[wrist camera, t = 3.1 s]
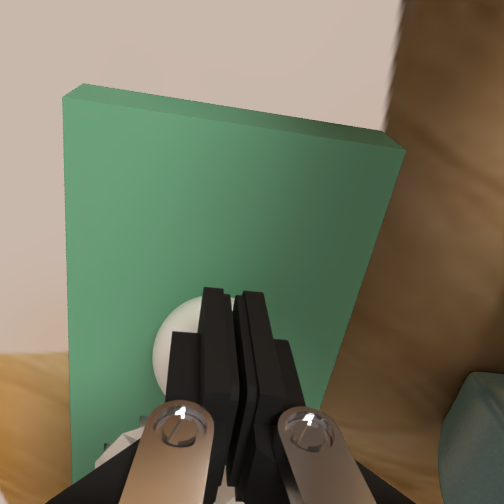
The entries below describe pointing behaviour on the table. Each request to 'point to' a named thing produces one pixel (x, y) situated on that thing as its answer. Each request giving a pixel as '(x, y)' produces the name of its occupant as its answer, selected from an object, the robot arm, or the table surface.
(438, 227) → the table surface
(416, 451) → the table surface
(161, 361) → the ball
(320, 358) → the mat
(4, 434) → the table surface
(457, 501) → the flower pot
